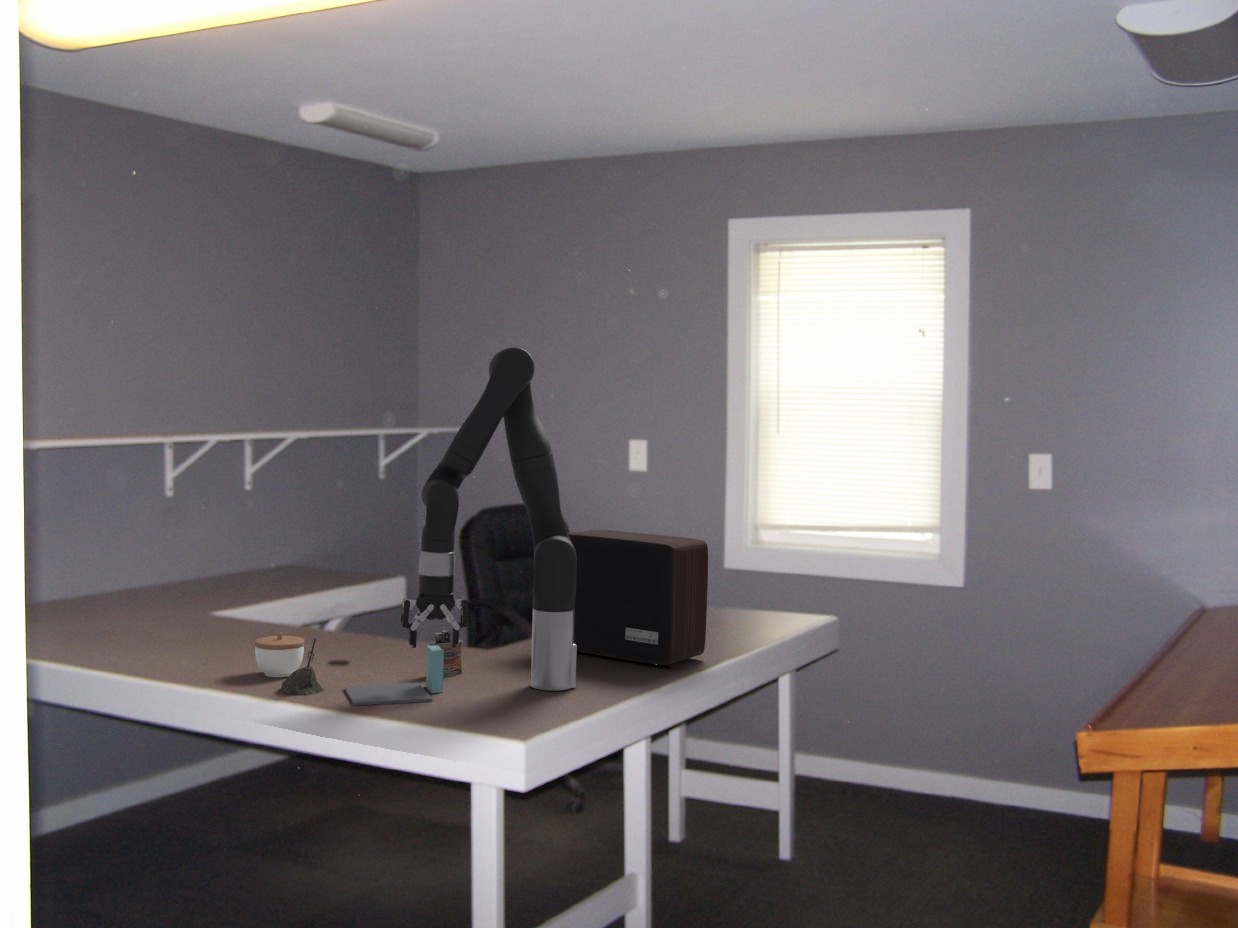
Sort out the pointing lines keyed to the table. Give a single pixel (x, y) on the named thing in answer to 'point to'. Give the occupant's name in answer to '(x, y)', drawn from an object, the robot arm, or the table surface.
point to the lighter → (449, 653)
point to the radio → (640, 596)
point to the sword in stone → (302, 680)
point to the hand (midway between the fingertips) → (433, 646)
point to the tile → (434, 669)
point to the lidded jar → (279, 654)
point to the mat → (387, 694)
